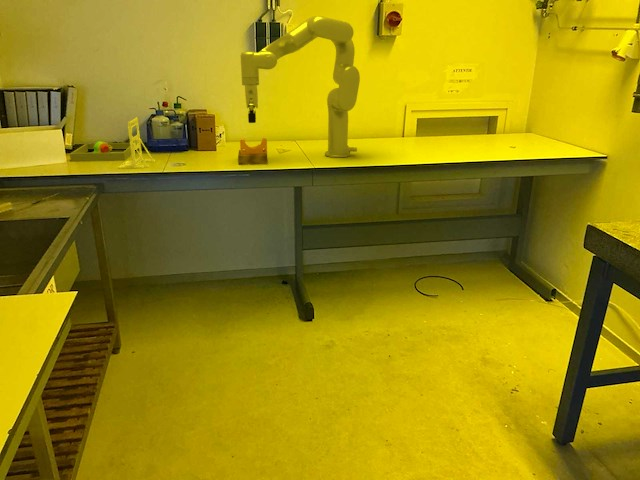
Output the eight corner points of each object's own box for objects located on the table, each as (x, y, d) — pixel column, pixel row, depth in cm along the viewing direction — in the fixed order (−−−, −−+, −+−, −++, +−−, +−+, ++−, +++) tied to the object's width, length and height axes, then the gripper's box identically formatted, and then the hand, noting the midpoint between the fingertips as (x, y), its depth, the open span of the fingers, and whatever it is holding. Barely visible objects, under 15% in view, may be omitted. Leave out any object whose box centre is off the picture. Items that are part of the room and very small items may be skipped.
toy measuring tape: (117, 153, 253) (115, 140, 250) (83, 161, 237) (80, 147, 234) (108, 152, 255) (106, 139, 253) (73, 159, 240) (71, 145, 237)
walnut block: (267, 157, 246) (266, 149, 245) (267, 164, 234) (267, 155, 233) (239, 158, 245) (239, 149, 243) (238, 164, 233) (238, 155, 231)
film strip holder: (125, 161, 237) (119, 117, 230) (155, 161, 238) (150, 117, 231) (115, 168, 224) (109, 122, 217) (148, 168, 225) (142, 122, 218)
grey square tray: (136, 149, 261) (135, 142, 260) (125, 160, 239) (124, 152, 237) (87, 150, 258) (86, 143, 257) (71, 161, 236) (69, 153, 235)
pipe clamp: (266, 151, 241) (265, 137, 238) (267, 153, 237) (266, 139, 235) (240, 152, 239) (239, 138, 236) (240, 154, 235) (240, 139, 232)
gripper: (259, 83, 219) (260, 124, 225) (258, 79, 235) (260, 118, 241) (241, 83, 218) (243, 124, 225) (242, 80, 234) (244, 118, 241)
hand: (252, 121), depth 233 cm, fingers open, 9 cm apart
